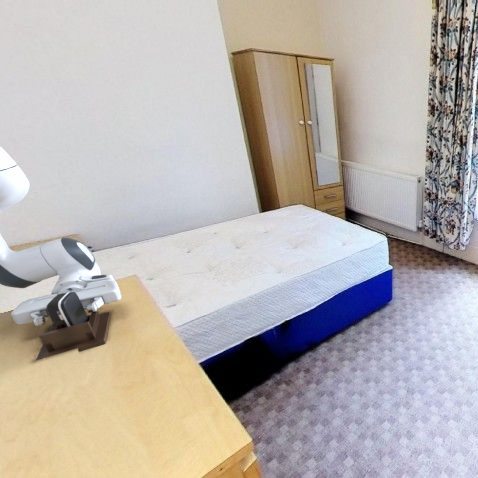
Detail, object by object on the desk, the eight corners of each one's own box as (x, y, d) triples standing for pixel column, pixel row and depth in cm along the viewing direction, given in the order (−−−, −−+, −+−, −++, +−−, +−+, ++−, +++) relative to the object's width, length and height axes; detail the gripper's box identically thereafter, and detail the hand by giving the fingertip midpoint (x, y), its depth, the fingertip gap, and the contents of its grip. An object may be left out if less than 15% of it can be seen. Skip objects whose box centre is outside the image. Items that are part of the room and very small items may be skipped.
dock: (38, 363, 77) (26, 343, 74) (52, 330, 88) (42, 311, 85) (105, 343, 84) (96, 324, 81) (111, 314, 95) (103, 297, 92)
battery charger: (73, 326, 87) (55, 291, 83) (92, 323, 89) (75, 288, 84) (60, 343, 82) (40, 306, 77) (80, 339, 83) (62, 302, 79)
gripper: (15, 294, 85) (-3, 321, 75) (118, 272, 97) (114, 293, 87) (26, 313, 87) (10, 342, 77) (125, 290, 99) (122, 312, 89)
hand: (66, 316), depth 82 cm, fingers open, 8 cm apart
